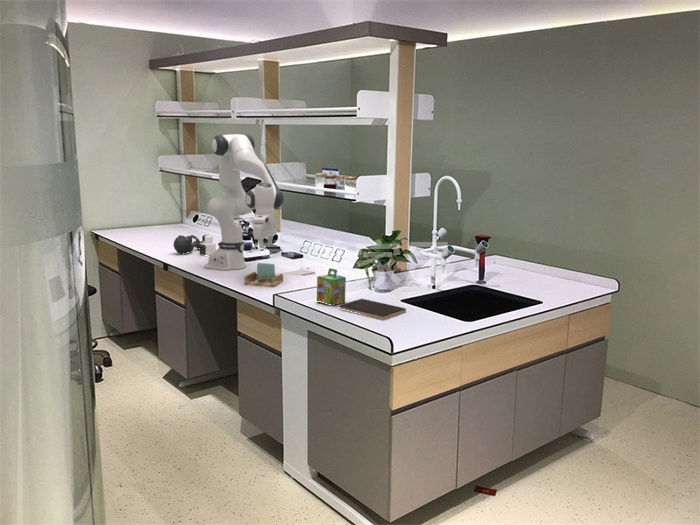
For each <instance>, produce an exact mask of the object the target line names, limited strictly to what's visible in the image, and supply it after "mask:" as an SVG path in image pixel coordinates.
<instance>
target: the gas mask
mask: <svg viewBox="0 0 700 525" xmlns="http://www.w3.org/2000/svg"><path fill="white" fill-rule="evenodd" d="M193 239H194V241H193ZM200 243H203V242H202V240H200V239H199V238H198V237H197V236H195V235H194V234H191V235H187V236H185V235H180V234H179V235H178V236H177V237H176V238H175V239H174V241H173V248H174V250H175V251H176V252H177V253H178V254H179V253H180V255H181V254H183V253H187V252H190V253H191V252H193V251H194V248H195V249H198V248H200Z"/></svg>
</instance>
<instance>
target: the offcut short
mask: <svg viewBox="0 0 700 525" xmlns="http://www.w3.org/2000/svg"><path fill="white" fill-rule="evenodd" d="M270 281H271V278H268V277H260V278H259V279H258V282H270Z"/></svg>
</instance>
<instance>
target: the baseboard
mask: <svg viewBox="0 0 700 525" xmlns="http://www.w3.org/2000/svg"><path fill="white" fill-rule="evenodd" d="M280 274H283V275H289V276H291V275H292V276H304V277H305V276H310V275H314V274H315V275H316V271H314V270H313V271H312V270H310V267H305V268H304V267H301V268H300V269H298V270H297V269H296V270H292V271H291V270H290V271H287V272H281V273H279V275H280Z"/></svg>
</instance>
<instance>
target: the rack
mask: <svg viewBox="0 0 700 525" xmlns="http://www.w3.org/2000/svg"><path fill="white" fill-rule="evenodd" d="M243 280H244V282H243V284H244V285H245V286H254V287H268V288H275V287H277V286H279V285H281V284H283V282H284V274H280V273H279V274H277V275H276V274H275V277H274V278H272V283H264V282H254V281H256V280H257V272H256V271H253V272H251V273H249V274H247V275H244V278H243Z"/></svg>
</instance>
